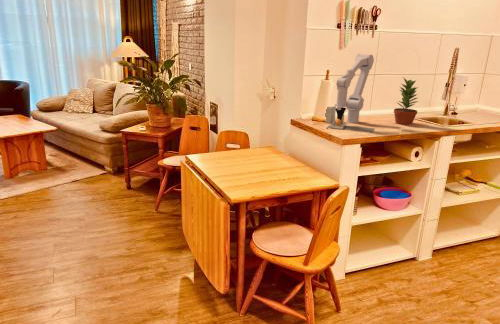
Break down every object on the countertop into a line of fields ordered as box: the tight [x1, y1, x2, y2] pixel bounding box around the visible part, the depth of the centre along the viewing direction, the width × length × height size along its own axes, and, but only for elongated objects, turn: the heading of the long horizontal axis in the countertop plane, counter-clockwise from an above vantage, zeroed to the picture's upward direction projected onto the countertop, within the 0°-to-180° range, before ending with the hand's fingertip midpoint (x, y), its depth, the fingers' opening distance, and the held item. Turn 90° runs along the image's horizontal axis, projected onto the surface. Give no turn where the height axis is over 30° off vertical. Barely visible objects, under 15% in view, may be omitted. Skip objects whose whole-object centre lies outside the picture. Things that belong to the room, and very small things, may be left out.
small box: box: [324, 104, 337, 124], centre depth 255 cm, size 8×6×10 cm
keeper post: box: [335, 118, 340, 126], centre depth 237 cm, size 2×2×4 cm
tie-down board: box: [326, 123, 376, 133], centre depth 235 cm, size 12×27×1 cm, turn 67°
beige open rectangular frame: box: [329, 113, 347, 130], centre depth 236 cm, size 13×8×6 cm, turn 157°
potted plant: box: [393, 77, 420, 126], centre depth 252 cm, size 15×15×30 cm
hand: (339, 119), depth 241 cm, fingers closed on beige open rectangular frame
